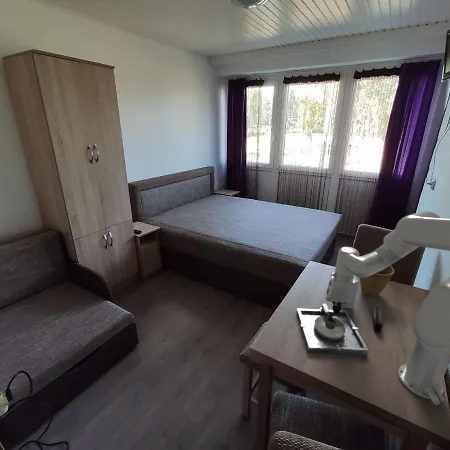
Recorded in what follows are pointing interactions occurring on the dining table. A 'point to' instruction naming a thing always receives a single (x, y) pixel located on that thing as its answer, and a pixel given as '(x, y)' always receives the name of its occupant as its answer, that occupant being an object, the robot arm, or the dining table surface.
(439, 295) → the robot arm
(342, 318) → the housing
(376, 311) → the green cucumber
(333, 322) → the dial
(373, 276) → the plant pot
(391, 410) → the dining table surface
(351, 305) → the skincare box
